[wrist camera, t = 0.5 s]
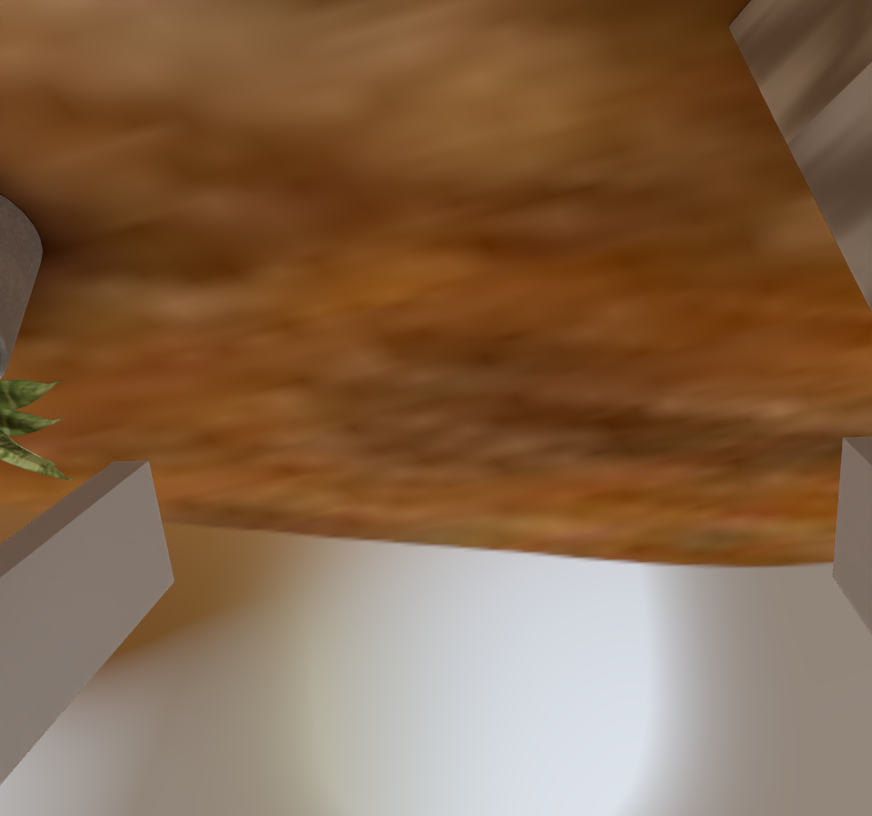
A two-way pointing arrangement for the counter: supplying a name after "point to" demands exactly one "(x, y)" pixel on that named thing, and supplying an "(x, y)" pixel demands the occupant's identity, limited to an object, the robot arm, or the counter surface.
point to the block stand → (821, 106)
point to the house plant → (3, 313)
